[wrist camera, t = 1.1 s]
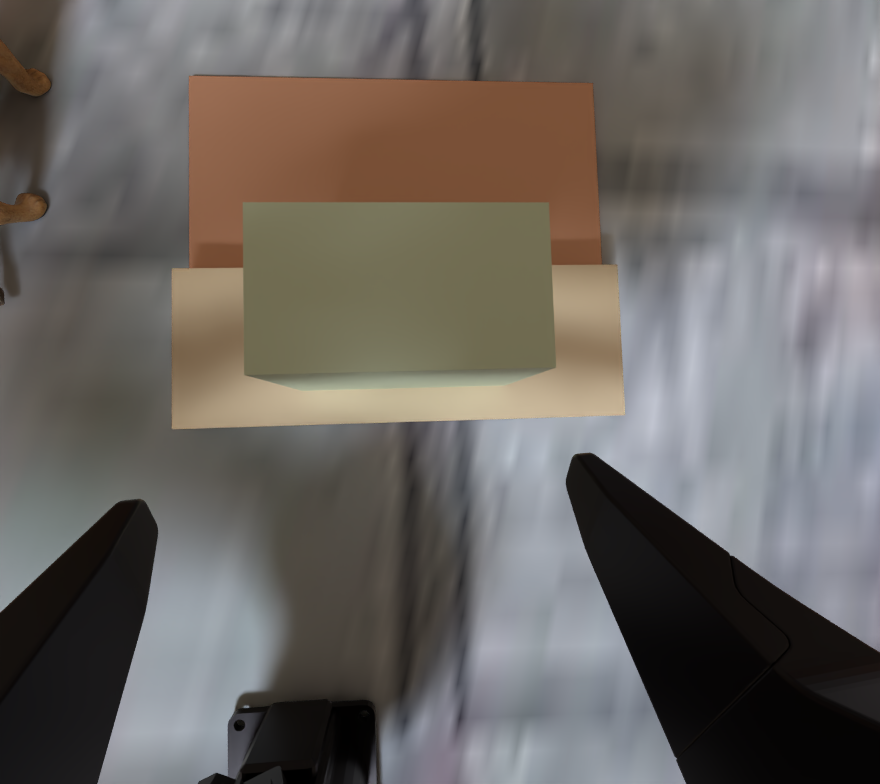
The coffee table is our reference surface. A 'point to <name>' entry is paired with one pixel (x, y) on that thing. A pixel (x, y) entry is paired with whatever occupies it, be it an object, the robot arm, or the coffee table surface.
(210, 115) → the rubber mat
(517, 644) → the coffee table surface
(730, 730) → the robot arm
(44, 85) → the lion figurine
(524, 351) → the green block
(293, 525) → the coffee table surface
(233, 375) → the birch board
